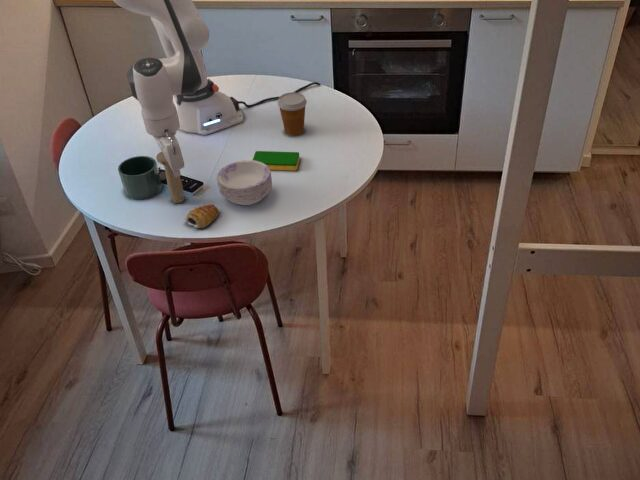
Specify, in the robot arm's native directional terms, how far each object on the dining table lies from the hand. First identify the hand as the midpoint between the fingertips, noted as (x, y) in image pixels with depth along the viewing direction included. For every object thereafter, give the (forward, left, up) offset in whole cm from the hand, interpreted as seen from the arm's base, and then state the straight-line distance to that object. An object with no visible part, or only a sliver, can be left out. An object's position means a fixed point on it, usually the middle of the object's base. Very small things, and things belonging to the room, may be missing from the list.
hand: (172, 167), depth 170 cm
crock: (+8, -11, -11) cm, 18 cm away
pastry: (-3, +12, -12) cm, 17 cm away
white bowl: (-18, +7, -12) cm, 22 cm away
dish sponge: (-32, -5, -12) cm, 34 cm away
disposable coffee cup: (-45, -21, -12) cm, 51 cm away
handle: (+1, 0, -12) cm, 12 cm away
